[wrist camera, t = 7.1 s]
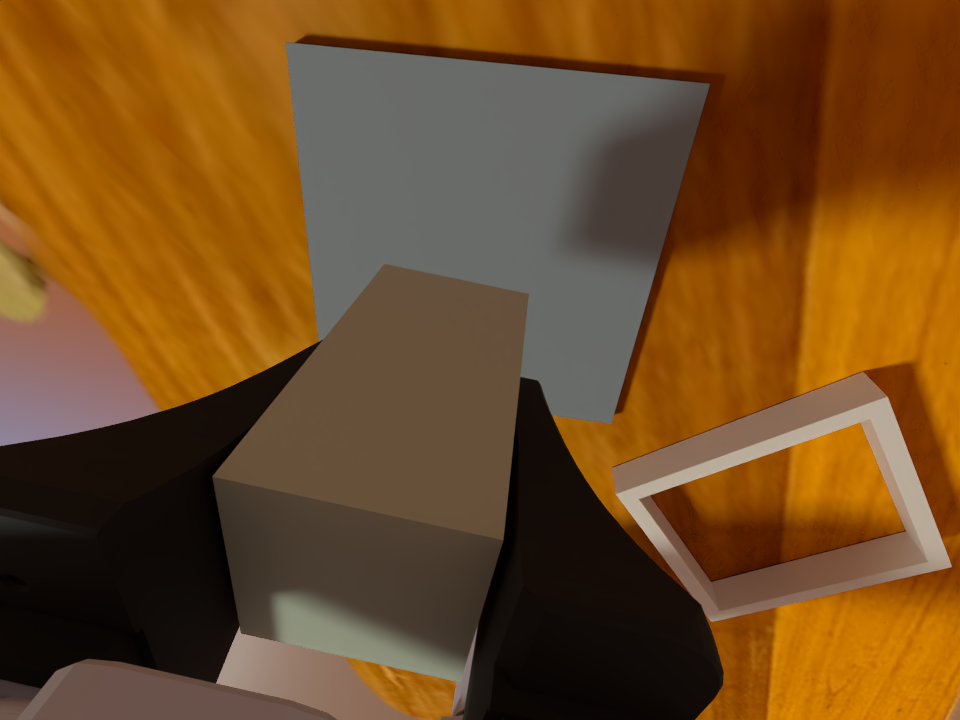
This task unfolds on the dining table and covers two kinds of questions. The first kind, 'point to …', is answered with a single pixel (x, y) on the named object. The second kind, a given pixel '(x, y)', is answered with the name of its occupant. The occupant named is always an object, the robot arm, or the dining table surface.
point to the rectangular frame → (771, 434)
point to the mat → (496, 194)
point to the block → (382, 478)
